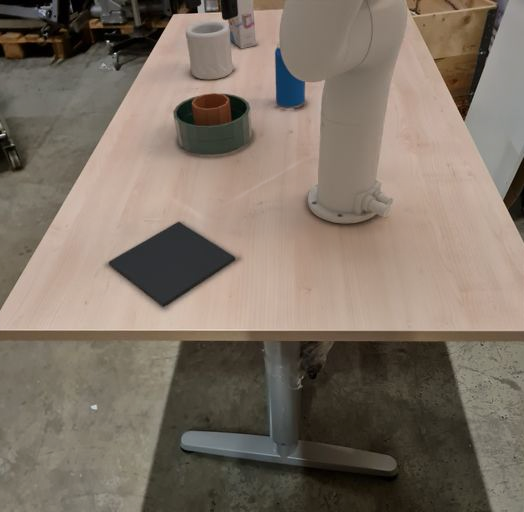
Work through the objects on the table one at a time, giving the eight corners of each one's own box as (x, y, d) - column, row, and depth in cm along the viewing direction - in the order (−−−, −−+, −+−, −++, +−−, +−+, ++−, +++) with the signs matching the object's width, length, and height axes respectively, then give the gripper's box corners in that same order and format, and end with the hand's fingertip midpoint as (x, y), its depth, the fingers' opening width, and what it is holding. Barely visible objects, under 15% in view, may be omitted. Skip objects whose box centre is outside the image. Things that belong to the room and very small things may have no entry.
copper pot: (239, 134, 99) (236, 99, 94) (212, 148, 96) (208, 112, 91) (216, 124, 103) (212, 90, 98) (190, 137, 100) (184, 102, 94)
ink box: (228, 40, 138) (224, -10, 129) (244, 36, 139) (241, -13, 130) (240, 49, 133) (236, -3, 124) (256, 45, 134) (254, -6, 125)
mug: (239, 75, 121) (235, 29, 114) (198, 83, 119) (192, 37, 111) (222, 57, 130) (217, 14, 122) (183, 65, 127) (176, 21, 120)
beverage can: (302, 111, 106) (303, 50, 97) (273, 109, 107) (272, 49, 98) (306, 98, 110) (307, 39, 101) (279, 97, 112) (277, 38, 102)
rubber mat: (235, 259, 74) (235, 256, 74) (163, 307, 68) (162, 304, 68) (179, 224, 81) (178, 221, 81) (109, 264, 75) (108, 261, 75)
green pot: (266, 136, 100) (265, 106, 95) (211, 165, 93) (207, 135, 88) (218, 115, 107) (214, 87, 102) (164, 141, 100) (158, 112, 96)
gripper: (142, -125, 73) (164, 8, 86) (216, -117, 65) (228, 28, 78) (180, -131, 76) (196, -2, 89) (256, -125, 68) (261, 16, 81)
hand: (211, 12), depth 84 cm, fingers open, 9 cm apart
